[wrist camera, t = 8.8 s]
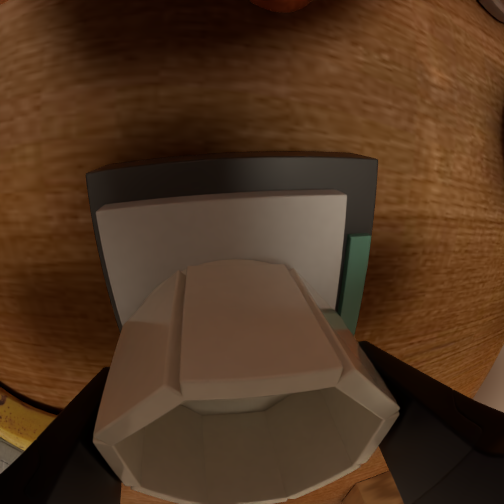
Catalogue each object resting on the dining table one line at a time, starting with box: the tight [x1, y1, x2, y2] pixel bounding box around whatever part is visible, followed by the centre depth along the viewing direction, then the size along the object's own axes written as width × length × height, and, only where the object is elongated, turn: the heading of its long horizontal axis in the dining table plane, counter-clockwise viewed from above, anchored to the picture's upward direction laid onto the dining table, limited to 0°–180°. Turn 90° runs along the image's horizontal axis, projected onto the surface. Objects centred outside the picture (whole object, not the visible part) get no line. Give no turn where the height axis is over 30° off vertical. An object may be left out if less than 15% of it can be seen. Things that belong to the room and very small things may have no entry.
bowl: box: [93, 259, 400, 504], centre depth 8 cm, size 7×7×4 cm
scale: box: [86, 151, 378, 336], centre depth 11 cm, size 9×11×3 cm
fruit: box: [0, 387, 58, 451], centre depth 11 cm, size 15×9×3 cm, turn 79°
